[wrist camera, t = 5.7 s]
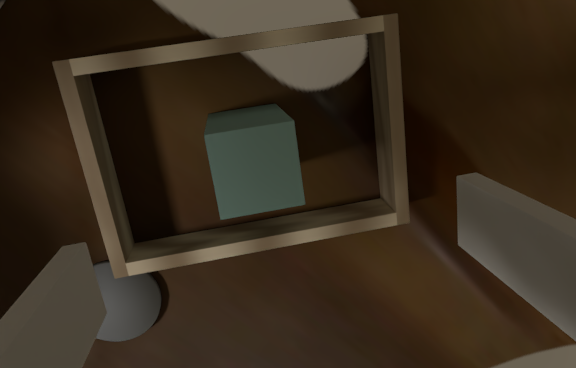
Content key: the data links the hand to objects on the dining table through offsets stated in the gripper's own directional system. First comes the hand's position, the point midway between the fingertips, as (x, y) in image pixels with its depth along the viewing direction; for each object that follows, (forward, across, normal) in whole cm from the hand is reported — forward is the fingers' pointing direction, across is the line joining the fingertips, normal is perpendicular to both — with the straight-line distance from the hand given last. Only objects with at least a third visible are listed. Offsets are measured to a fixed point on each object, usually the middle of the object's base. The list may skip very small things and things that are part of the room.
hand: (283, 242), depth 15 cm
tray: (+19, 0, 0) cm, 19 cm away
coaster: (+19, -13, -11) cm, 25 cm away
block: (+19, 0, 0) cm, 19 cm away
